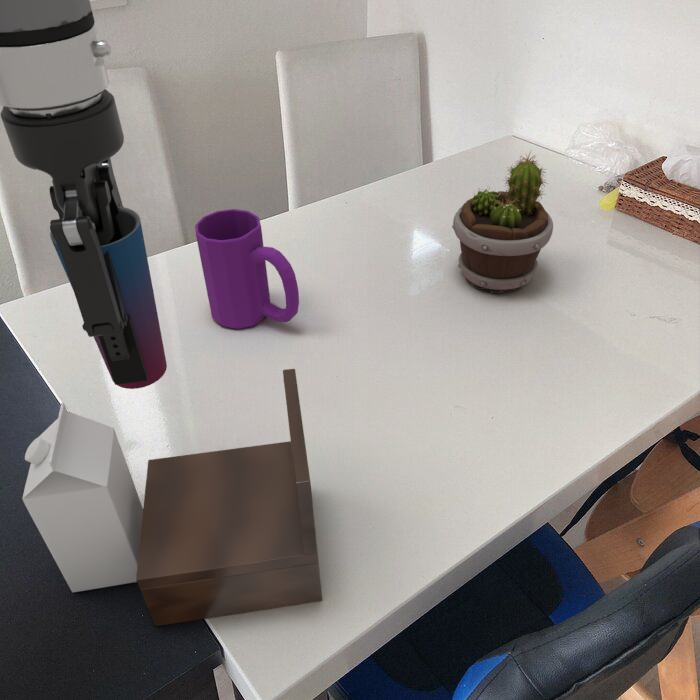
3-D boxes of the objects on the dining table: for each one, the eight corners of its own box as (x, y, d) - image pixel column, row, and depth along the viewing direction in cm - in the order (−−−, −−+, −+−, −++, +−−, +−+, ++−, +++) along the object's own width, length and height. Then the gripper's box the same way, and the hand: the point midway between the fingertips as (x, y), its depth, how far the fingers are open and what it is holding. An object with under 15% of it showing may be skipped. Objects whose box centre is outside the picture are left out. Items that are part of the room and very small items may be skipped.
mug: (237, 288, 108) (223, 202, 98) (318, 317, 101) (312, 228, 92) (198, 319, 102) (179, 230, 92) (282, 352, 95) (271, 260, 86)
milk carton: (149, 523, 73) (103, 396, 61) (145, 582, 68) (94, 455, 56) (81, 534, 73) (21, 408, 60) (72, 594, 67) (4, 468, 55)
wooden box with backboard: (155, 626, 64) (106, 509, 53) (163, 507, 75) (124, 388, 64) (322, 600, 66) (310, 481, 54) (307, 487, 77) (294, 368, 65)
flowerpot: (483, 314, 101) (498, 190, 88) (432, 264, 111) (439, 147, 99) (563, 289, 105) (589, 167, 92) (506, 243, 116) (522, 129, 103)
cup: (85, 378, 62) (31, 234, 52) (141, 338, 66) (100, 198, 56) (137, 406, 59) (89, 258, 49) (192, 362, 63) (158, 218, 53)
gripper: (96, 147, 40) (173, 424, 54) (123, 52, 54) (178, 291, 69) (-39, 160, 39) (77, 437, 54) (25, 59, 53) (102, 300, 68)
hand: (134, 355), depth 61 cm, fingers closed on cup, 6 cm apart
